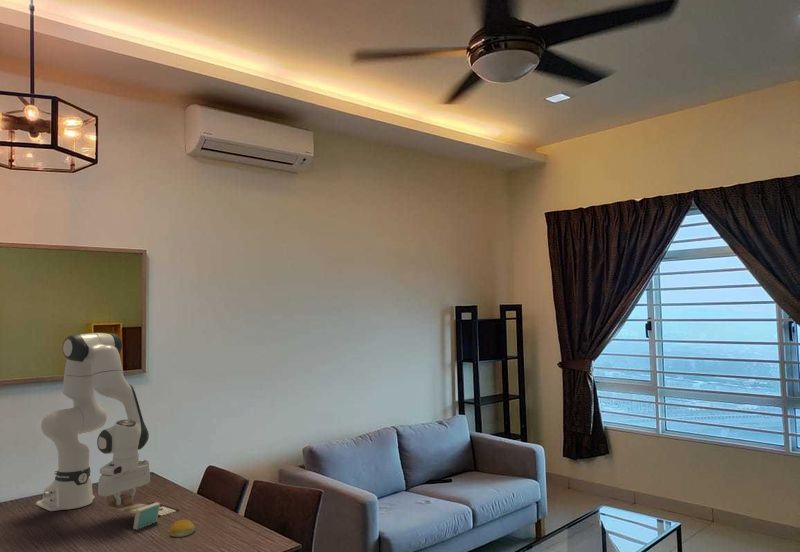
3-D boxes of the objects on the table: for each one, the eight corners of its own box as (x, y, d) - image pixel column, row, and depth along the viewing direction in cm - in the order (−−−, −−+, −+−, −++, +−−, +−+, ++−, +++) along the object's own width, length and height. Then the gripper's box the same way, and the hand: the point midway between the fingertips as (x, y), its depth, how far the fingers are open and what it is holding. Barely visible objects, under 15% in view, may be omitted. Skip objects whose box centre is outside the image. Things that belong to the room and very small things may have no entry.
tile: (133, 528, 208) (136, 509, 208) (153, 520, 216) (157, 502, 216) (136, 530, 207) (139, 511, 207) (157, 522, 215) (160, 503, 215)
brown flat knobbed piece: (102, 507, 217) (102, 496, 218) (118, 502, 224) (118, 491, 224) (137, 513, 209) (137, 502, 209) (153, 508, 215) (153, 496, 216)
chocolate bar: (153, 501, 238) (179, 509, 228) (153, 504, 238) (179, 512, 228) (132, 507, 231) (157, 516, 221) (132, 510, 231) (157, 518, 220)
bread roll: (169, 539, 199) (169, 527, 199) (169, 530, 207) (169, 519, 207) (195, 535, 201) (195, 524, 202) (194, 527, 210) (194, 516, 210)
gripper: (143, 457, 229) (142, 493, 228) (95, 470, 211) (94, 509, 210) (154, 459, 226) (153, 495, 225) (107, 471, 208) (106, 511, 207)
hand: (124, 502), depth 217 cm, fingers closed on brown flat knobbed piece, 3 cm apart
